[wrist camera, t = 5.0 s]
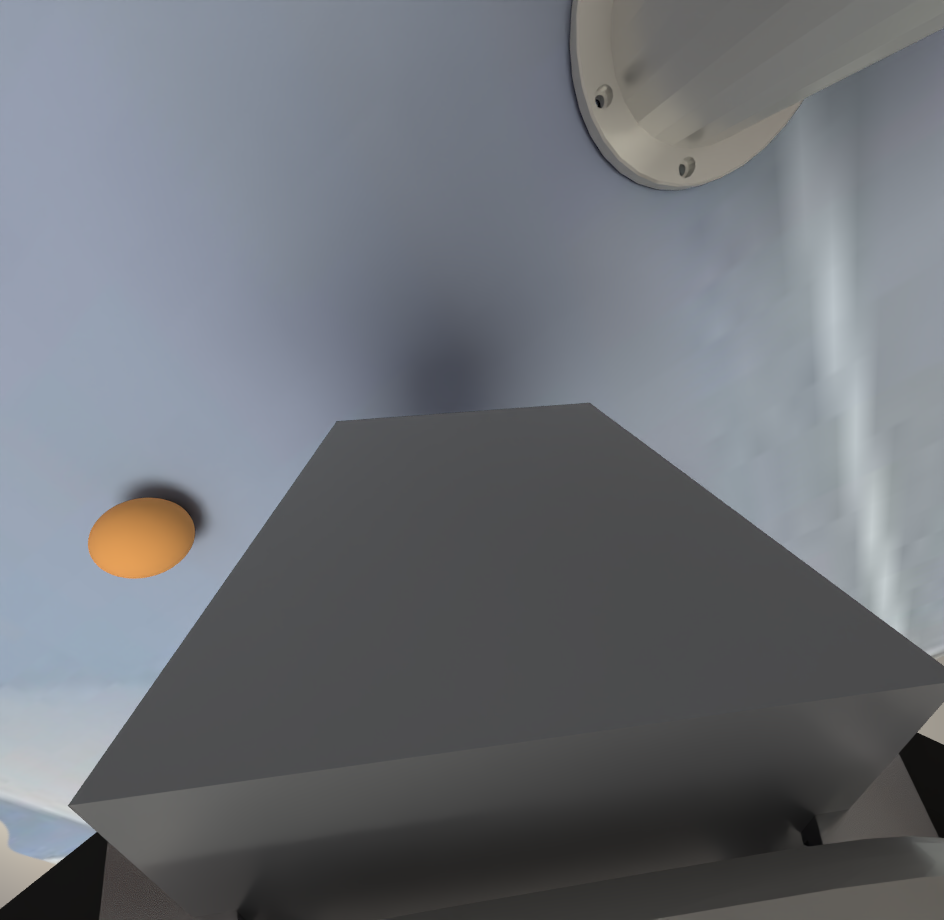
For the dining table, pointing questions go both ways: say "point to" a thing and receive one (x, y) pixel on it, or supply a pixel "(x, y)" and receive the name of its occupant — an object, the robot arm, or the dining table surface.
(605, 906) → the robot arm
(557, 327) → the dining table surface
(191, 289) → the dining table surface
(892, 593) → the dining table surface
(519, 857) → the grey cubic block
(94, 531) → the ball
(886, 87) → the dining table surface
